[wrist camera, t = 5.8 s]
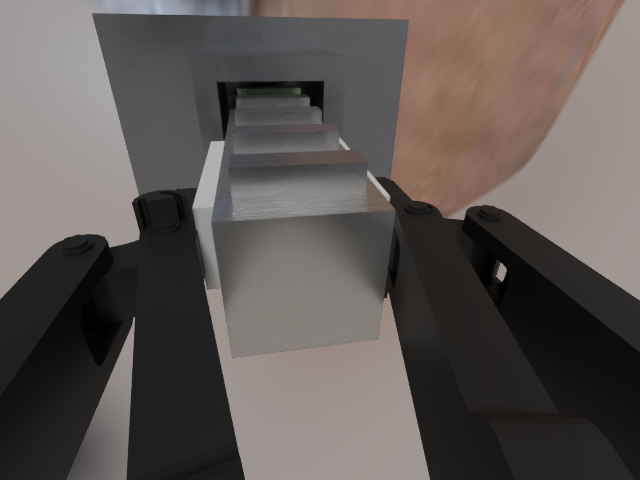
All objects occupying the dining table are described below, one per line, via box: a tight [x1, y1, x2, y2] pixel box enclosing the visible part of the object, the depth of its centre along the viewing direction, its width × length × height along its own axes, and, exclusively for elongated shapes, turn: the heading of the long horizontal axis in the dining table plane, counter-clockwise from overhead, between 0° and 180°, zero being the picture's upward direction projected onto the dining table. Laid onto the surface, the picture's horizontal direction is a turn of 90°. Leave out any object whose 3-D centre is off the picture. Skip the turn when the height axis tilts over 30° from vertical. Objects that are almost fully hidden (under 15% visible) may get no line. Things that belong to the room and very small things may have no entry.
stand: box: [92, 13, 409, 196], centre depth 21 cm, size 18×12×10 cm, turn 89°
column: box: [211, 85, 395, 358], centre depth 16 cm, size 4×6×16 cm
